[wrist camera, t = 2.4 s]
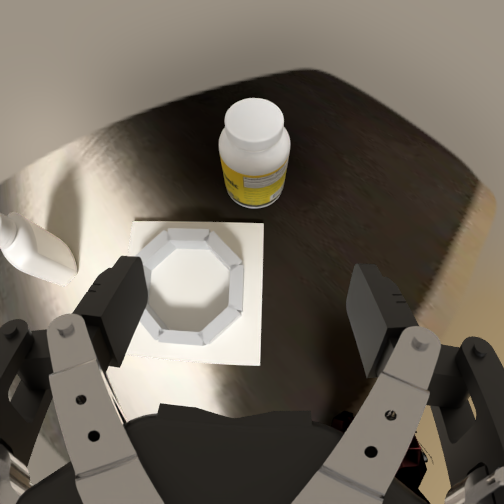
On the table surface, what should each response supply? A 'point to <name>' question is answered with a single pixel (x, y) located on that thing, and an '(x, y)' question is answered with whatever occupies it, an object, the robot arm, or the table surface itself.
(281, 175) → the supplement bottle
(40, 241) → the eye dropper bottle
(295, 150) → the table surface
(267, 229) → the table surface
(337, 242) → the table surface
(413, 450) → the cat figurine
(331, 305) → the table surface
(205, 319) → the barrel socket
